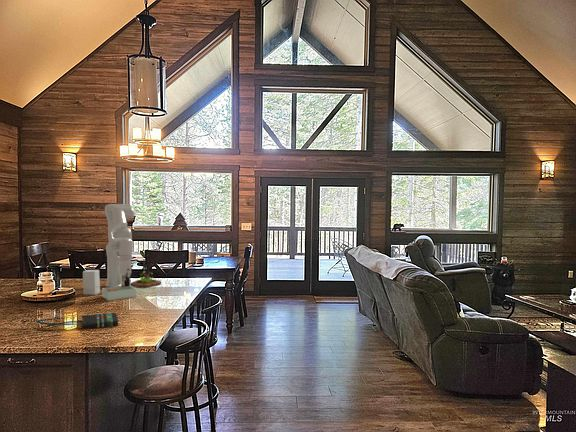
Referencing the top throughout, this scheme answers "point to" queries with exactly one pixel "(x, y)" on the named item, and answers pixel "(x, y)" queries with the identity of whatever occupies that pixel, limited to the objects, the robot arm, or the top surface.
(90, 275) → the skincare box
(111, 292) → the sage tote
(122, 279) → the birch cylinder
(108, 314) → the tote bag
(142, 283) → the plant
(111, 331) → the top surface
